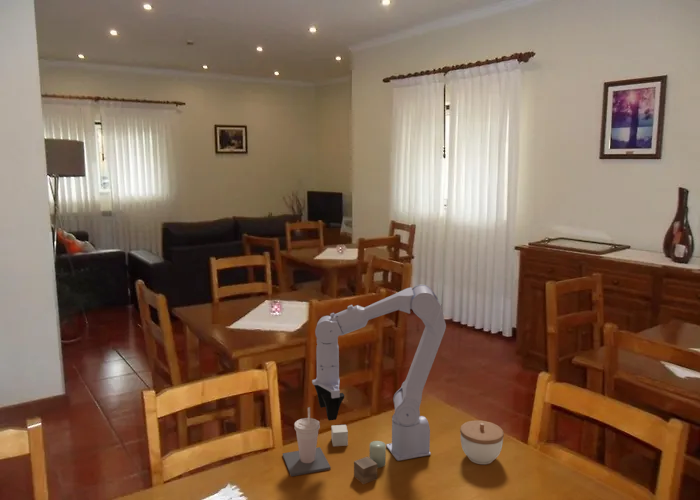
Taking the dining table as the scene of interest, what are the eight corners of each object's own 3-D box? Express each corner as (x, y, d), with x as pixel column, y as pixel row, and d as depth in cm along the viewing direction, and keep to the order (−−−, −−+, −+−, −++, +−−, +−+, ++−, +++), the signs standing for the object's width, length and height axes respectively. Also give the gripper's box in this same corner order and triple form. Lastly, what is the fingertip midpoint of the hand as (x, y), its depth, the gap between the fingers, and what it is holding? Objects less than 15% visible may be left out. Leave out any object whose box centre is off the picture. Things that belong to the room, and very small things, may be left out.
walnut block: (367, 471, 137) (367, 456, 137) (377, 479, 134) (377, 463, 133) (353, 476, 135) (353, 461, 135) (363, 484, 132) (363, 469, 131)
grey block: (346, 438, 153) (346, 424, 153) (347, 445, 149) (347, 431, 149) (331, 439, 153) (331, 425, 152) (332, 446, 149) (332, 432, 148)
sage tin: (381, 457, 143) (382, 439, 142) (387, 466, 140) (388, 447, 139) (367, 460, 142) (367, 442, 141) (372, 468, 138) (372, 450, 137)
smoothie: (316, 467, 138) (316, 414, 135) (291, 464, 139) (290, 412, 137) (322, 453, 144) (322, 402, 142) (298, 451, 145) (297, 400, 143)
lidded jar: (487, 444, 150) (489, 411, 148) (510, 465, 140) (512, 430, 138) (451, 451, 147) (453, 417, 145) (472, 472, 137) (474, 437, 135)
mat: (320, 449, 147) (320, 447, 147) (330, 469, 138) (330, 467, 138) (282, 455, 144) (282, 453, 144) (290, 476, 135) (290, 474, 135)
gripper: (305, 355, 149) (306, 403, 151) (319, 375, 135) (320, 428, 137) (331, 352, 151) (331, 399, 153) (347, 372, 137) (347, 423, 139)
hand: (328, 412), depth 145 cm, fingers open, 7 cm apart
